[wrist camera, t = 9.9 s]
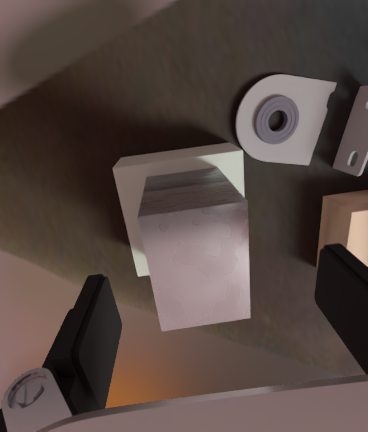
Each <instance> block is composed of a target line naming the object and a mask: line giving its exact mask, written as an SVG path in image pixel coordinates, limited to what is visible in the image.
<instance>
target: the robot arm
mask: <svg viewBox="0 0 368 432" xmlns="http://www.w3.org/2000/svg"><path fill="white" fill-rule="evenodd" d="M315 301H316V304H317V305H318V307H319V308H320V310H321V311H322V312H323V314H324V315H325V317H326V318H327V320H328V321H329V322H330V324H331V325H332V327H333V328H334V330H335V331H336V332H337V334H338V335H339V337H340V338H341V339H342V341H343V342H344V344H345V345H346V347H347V348H348V349H349V351H350V352H351V354H352V355H353V356H354V358H355V359H356V361H357V362H358V364H359V365H360V366H361V368H362V369H363V371H364V372H365V373H366V375H359V376H351V377H342V378H335V379H326V380H317V381H309V382H301V383H293V384H285V385H277V386H269V387H261V388H253V389H245V390H237V391H229V392H222V393H213V394H206V395H198V396H191V397H183V398H176V399H168V400H160V401H154V402H146V403H139V404H132V405H126V406H119V407H113V408H106V409H105V406H106V402H107V396H108V392H109V387H110V383H111V377H112V373H113V368H114V363H115V359H116V354H117V349H118V344H119V339H120V335H121V329H122V323H121V319H120V315H119V312H118V309H117V306H116V302H115V299H114V296H113V292H112V289H111V286H110V283H109V279H108V277H104V276H103V274H97V275H90V276H88V277H87V279H86V282H85V284H84V286H83V288H82V290H81V293H80V295H79V297H78V299H77V301H76V303H75V306H74V308H73V309H70V310H69V312H68V313H67V315H66V317H65V319H64V322H63V324H62V326H61V328H60V330H59V332H58V334H57V336H56V338H55V341H54V343H53V345H52V347H51V349H50V351H49V353H48V355H47V357H46V359H45V362H44V364H43V366H42V368H35V369H32V370H29V371H27V372H26V373H24V374H22V375H21V376H20V377H18V378H17V379H16V380H15V381H14V382H13V383H12V384H11V385H10V386H9V388H8V389H7V391H6V392H5V394H4V396H3V399H2V408H1V409H0V432H368V267H367V266H366V265H365V264H364V263H363V262H361V261H360V260H359V259H358V258H357V257H356V256H355V255H353V254H352V253H351V252H350V251H349V250H348V249H346V248H345V247H344V246H343V245H342V244H340V243H335V244H328V245H324V247H323V249H321V250H320V254H319V262H318V271H317V279H316V288H315Z"/></svg>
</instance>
